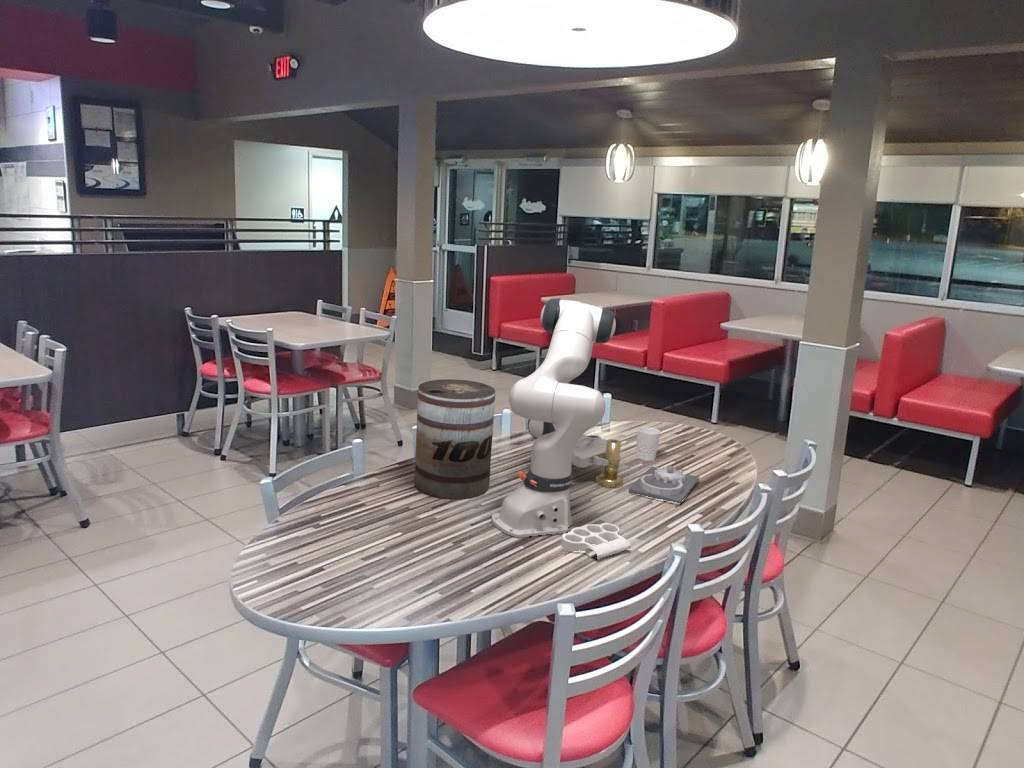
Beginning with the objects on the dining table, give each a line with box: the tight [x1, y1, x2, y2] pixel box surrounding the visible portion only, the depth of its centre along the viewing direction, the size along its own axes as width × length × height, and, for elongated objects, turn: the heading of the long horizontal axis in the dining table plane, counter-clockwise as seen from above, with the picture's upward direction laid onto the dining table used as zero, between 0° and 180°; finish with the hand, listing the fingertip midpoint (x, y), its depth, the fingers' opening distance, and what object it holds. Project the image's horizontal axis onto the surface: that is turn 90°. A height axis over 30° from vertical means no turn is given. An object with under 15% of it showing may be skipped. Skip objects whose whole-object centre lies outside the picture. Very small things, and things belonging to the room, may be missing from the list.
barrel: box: [413, 378, 497, 501], centre depth 224 cm, size 22×22×30 cm
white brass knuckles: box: [560, 522, 632, 560], centre depth 195 cm, size 3×18×15 cm
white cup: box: [635, 426, 661, 462], centre depth 264 cm, size 8×8×10 cm
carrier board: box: [628, 465, 700, 503], centre depth 238 cm, size 24×16×6 cm, turn 153°
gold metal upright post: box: [595, 438, 625, 489], centre depth 236 cm, size 9×9×14 cm
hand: (614, 461), depth 236 cm, fingers closed on gold metal upright post, 4 cm apart
